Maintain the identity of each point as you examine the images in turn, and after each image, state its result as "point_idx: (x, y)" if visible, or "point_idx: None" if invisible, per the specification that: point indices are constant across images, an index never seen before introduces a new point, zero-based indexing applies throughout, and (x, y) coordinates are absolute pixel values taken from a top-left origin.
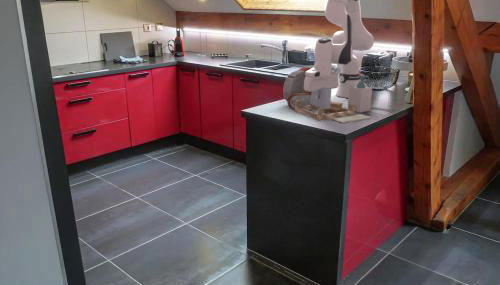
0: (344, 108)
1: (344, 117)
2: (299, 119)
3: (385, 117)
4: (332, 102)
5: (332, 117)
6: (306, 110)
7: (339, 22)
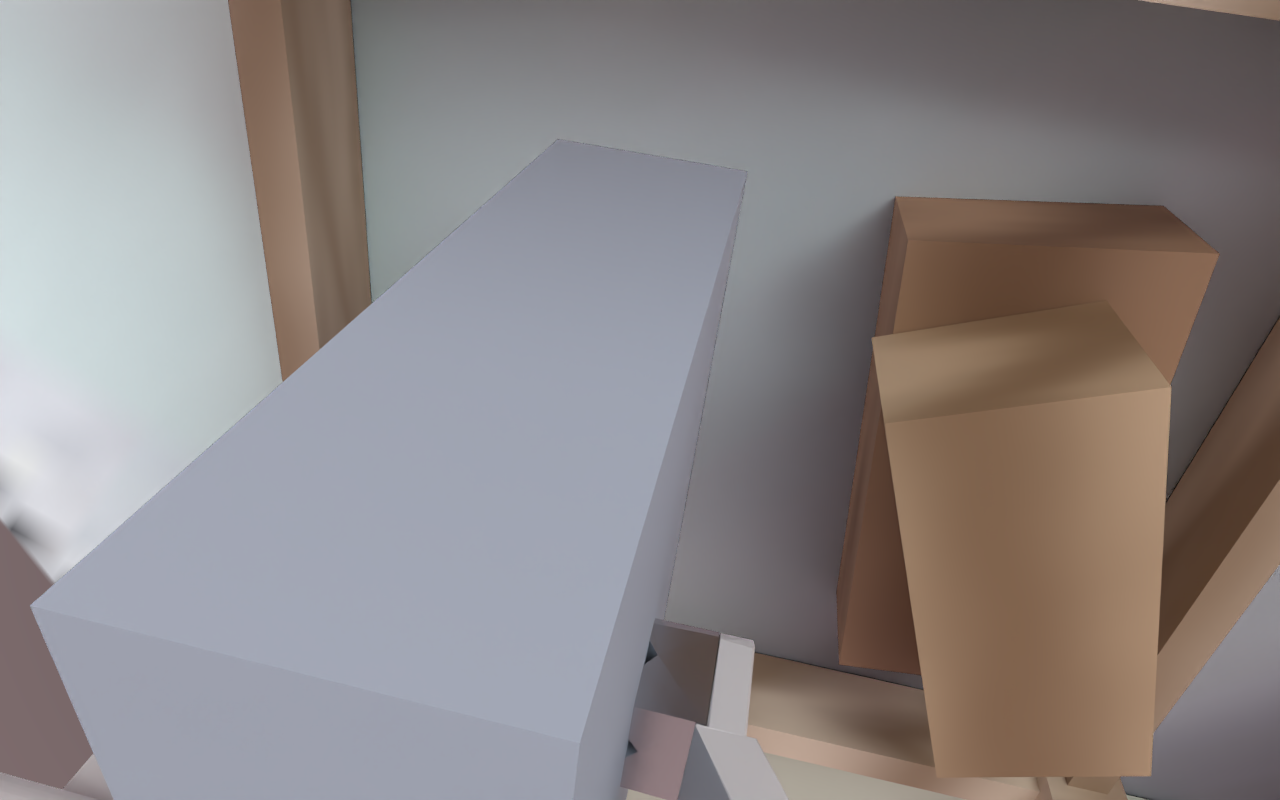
0: (1157, 683)
1: (770, 755)
2: (89, 367)
3: None
4: (1009, 616)
5: None
6: (279, 296)
7: None
